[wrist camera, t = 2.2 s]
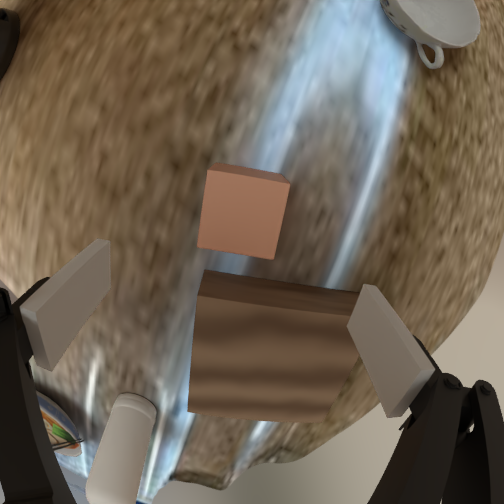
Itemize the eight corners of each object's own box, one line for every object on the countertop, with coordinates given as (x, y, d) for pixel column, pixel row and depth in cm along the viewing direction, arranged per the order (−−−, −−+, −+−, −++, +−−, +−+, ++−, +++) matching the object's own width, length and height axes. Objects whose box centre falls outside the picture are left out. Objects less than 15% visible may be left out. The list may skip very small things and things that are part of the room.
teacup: (354, -35, 20) (377, -64, 13) (437, -7, 20) (469, -24, 13) (364, 63, 26) (396, 46, 18) (449, 86, 26) (489, 82, 19)
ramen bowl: (29, 352, 41) (9, 380, 33) (112, 426, 48) (102, 455, 41) (-1, 381, 46) (-15, 402, 38) (64, 438, 53) (55, 461, 46)
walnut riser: (204, 269, 35) (197, 295, 29) (360, 292, 36) (376, 318, 31) (192, 382, 42) (187, 411, 36) (315, 394, 44) (321, 422, 38)
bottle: (109, 391, 44) (58, 533, 16) (146, 391, 43) (104, 551, 15) (127, 417, 47) (91, 549, 19) (163, 418, 46) (136, 562, 18)
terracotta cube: (216, 162, 30) (207, 169, 24) (280, 173, 31) (290, 184, 24) (206, 224, 33) (196, 247, 26) (268, 234, 33) (273, 259, 27)
